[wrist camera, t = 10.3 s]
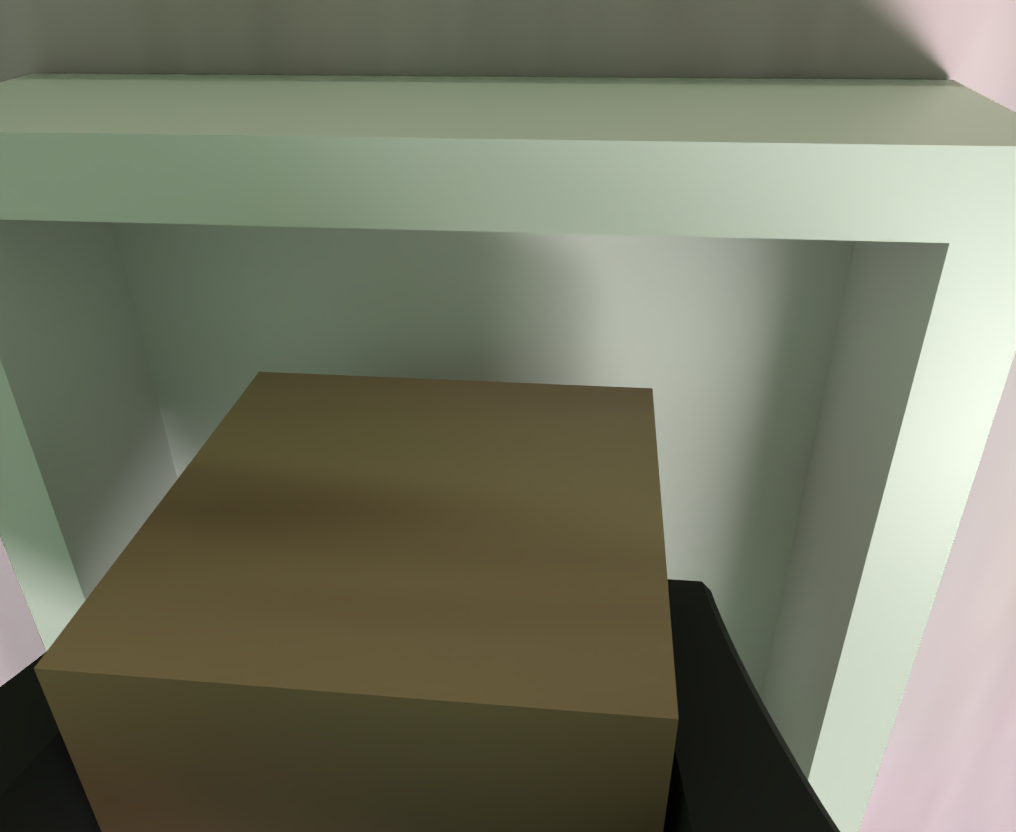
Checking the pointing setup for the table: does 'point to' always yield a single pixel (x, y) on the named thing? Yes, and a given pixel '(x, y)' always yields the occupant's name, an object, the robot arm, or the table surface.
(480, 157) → the counting tray
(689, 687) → the robot arm
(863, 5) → the table surface
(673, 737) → the walnut block
